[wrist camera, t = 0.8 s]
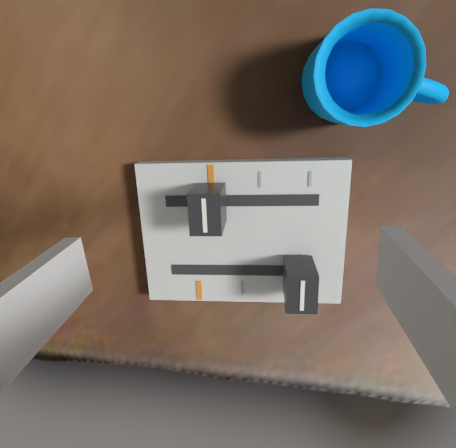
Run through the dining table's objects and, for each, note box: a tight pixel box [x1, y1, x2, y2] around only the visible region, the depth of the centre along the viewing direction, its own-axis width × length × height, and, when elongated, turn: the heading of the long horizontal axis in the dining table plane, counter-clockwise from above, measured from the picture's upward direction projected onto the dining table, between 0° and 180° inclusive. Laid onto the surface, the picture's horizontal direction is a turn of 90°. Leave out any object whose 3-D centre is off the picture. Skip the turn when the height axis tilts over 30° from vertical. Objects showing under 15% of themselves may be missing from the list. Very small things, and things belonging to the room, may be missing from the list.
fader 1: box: [187, 183, 227, 236], centre depth 34 cm, size 4×3×5 cm
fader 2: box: [283, 255, 319, 314], centre depth 35 cm, size 4×3×5 cm
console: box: [134, 157, 352, 303], centre depth 38 cm, size 16×22×2 cm
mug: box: [301, 8, 449, 127], centre depth 30 cm, size 12×8×8 cm
